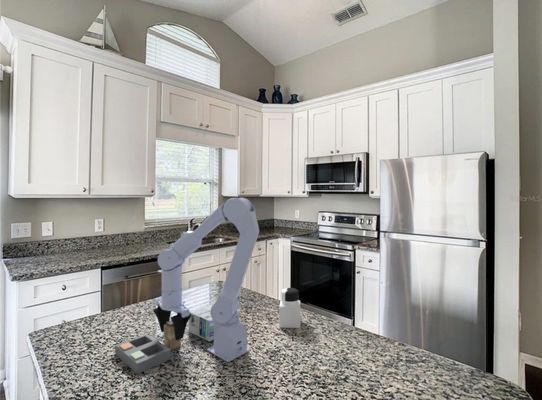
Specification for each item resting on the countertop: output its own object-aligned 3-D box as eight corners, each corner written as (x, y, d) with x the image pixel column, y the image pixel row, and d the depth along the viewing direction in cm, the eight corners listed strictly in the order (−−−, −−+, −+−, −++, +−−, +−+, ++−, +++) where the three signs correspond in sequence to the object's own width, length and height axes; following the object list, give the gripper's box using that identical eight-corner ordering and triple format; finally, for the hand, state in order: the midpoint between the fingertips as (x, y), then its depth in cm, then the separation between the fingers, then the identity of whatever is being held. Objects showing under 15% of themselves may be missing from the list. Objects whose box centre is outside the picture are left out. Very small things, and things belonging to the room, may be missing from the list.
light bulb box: (188, 332, 96) (208, 343, 89) (188, 311, 96) (209, 320, 89) (213, 321, 104) (234, 330, 97) (214, 302, 104) (235, 310, 97)
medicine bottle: (300, 319, 105) (300, 286, 105) (300, 328, 98) (300, 292, 98) (280, 319, 106) (280, 285, 106) (279, 327, 99) (278, 292, 99)
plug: (180, 345, 87) (180, 321, 87) (170, 350, 85) (169, 325, 85) (174, 342, 89) (174, 318, 89) (164, 346, 87) (163, 322, 87)
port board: (170, 358, 80) (170, 348, 80) (137, 373, 73) (137, 362, 73) (146, 342, 89) (146, 332, 89) (115, 354, 83) (115, 343, 83)
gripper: (198, 290, 85) (198, 337, 86) (170, 281, 95) (170, 323, 95) (177, 297, 80) (177, 346, 80) (149, 286, 89) (149, 331, 89)
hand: (171, 334), depth 87 cm, fingers open, 7 cm apart
